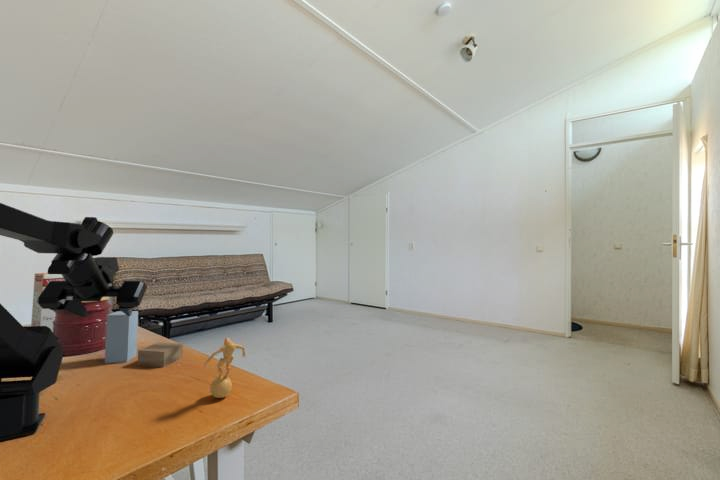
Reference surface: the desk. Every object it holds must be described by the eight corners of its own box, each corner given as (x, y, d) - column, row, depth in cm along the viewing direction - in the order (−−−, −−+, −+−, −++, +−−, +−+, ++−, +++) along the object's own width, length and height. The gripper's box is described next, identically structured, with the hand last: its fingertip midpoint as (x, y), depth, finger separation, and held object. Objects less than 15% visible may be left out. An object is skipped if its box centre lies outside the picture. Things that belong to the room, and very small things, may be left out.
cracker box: (39, 346, 92) (42, 273, 93) (29, 343, 95) (33, 273, 95) (95, 335, 105) (98, 271, 106) (85, 332, 107) (88, 270, 108)
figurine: (235, 387, 68) (237, 330, 68) (250, 396, 64) (252, 335, 64) (194, 401, 61) (196, 338, 62) (208, 412, 57) (210, 344, 58)
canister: (78, 358, 83) (81, 290, 84) (37, 354, 85) (40, 288, 86) (122, 343, 96) (125, 285, 97) (85, 341, 98) (88, 283, 99)
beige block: (163, 368, 78) (164, 351, 78) (137, 366, 79) (138, 350, 79) (182, 358, 85) (183, 343, 85) (158, 357, 86) (159, 342, 86)
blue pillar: (127, 362, 81) (129, 314, 81) (104, 363, 80) (106, 315, 80) (136, 355, 86) (138, 310, 86) (115, 356, 85) (117, 311, 85)
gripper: (145, 246, 74) (162, 288, 84) (49, 244, 70) (79, 288, 80) (127, 283, 66) (147, 325, 76) (18, 284, 62) (55, 327, 72)
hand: (108, 314), depth 77 cm, fingers open, 9 cm apart
